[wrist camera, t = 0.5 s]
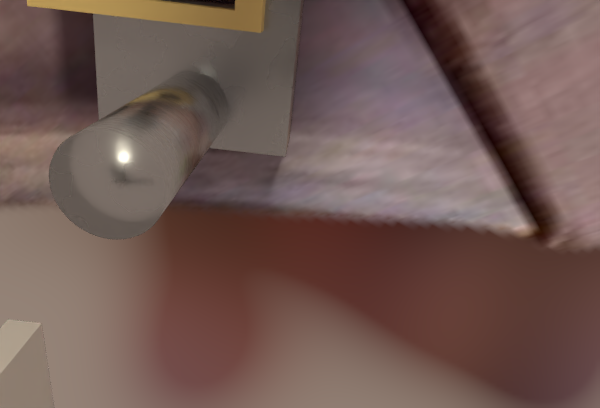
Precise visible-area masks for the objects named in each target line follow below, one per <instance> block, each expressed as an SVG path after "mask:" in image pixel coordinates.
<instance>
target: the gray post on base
mask: <svg viewBox="0 0 600 408" xmlns="http://www.w3.org/2000/svg"><path fill="white" fill-rule="evenodd" d="M162 1H171V2H179V3H188V4H196V5H205V6H214V7H222V8H231V9H235V5H231V4H222V3H214V2H205V1H197V0H162ZM303 3H304V0H266V4H265V18H264V31H262V32H261V33H257V32H249V31H240V30H231V29H223V28H214V27H206V26H197V25H188V24H180V23H171V22H163V21H154V20H145V19H137V18H128V17H119V16H111V15H102V14H94V13H93V24H94V42H95V60H96V78H97V96H98V114H99V120H98V121H97V122H95V123H93V124H91V125H90V126H88V127H86V128H85V129H83V130H81V131H80V132H78V133H76V134H75V135H73V136H71V137H69V138H68V139H67V140H65V141H64V142H63V143H62V144H61V145H60V146H59V147H58V149H57V150H56V152H55V153H54V155H53V157H52V160H51V163H50V168H49V182H50V188H51V191H52V194H53V197H54V199H55V201H56V203H57V205H58V206H59V208H60V209H61V211H62V212H63V213H64V214H65V215H66V216H67V218H68V219H69V220H70V221H72V222H73V223H74V224H75V225H77V226H78V227H80V228H81V229H83V230H85V231H86V232H88V233H90V234H93V235H95V236H99V237H103V238H107V239H127V238H132V237H135V236H138V235H140V234H142V233H144V232H146V231H147V230H149V229H150V228H151V227H152V226H153V225H154V224H155V223H156V222H157V220H158V219H159V218H160V216H161V215H162V214H163V212H164V211H165V209H166V208H167V207H168V205H169V204H170V202H171V201H172V199H173V198H174V197H175V195H176V194H177V192H178V191H179V190H180V188H181V187H182V185H183V184H184V183H185V181H186V180H187V178H188V177H189V176H190V174H191V173H192V171H193V170H194V169H195V167H196V166H197V164H198V163H199V162H200V160H201V159H202V157H203V156H204V155H205V153H206V152H207V150H208V149H209V148H214V149H222V150H231V151H240V152H248V153H257V154H266V155H274V156H283V157H286V152H287V148H288V143H289V139H290V131H291V121H292V111H293V101H294V92H295V82H296V72H297V62H298V52H299V42H300V32H301V23H302V13H303Z"/></svg>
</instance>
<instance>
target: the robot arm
mask: <svg viewBox="0 0 600 408" xmlns="http://www.w3.org/2000/svg"><path fill="white" fill-rule="evenodd" d="M0 408H54V402H53V397H52V389H51V382H50V376H49V368H48V362H47V356H46V348H45V341H44V335H43V328H42V323H36V322H27V321H18V320H9V319H8V320H7V321H6V322H5V323H4V324H3V325H2V327H1V328H0Z"/></svg>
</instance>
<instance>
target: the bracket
mask: <svg viewBox="0 0 600 408" xmlns="http://www.w3.org/2000/svg"><path fill="white" fill-rule="evenodd" d="M265 4H266V0H235V9H231V8H222V7H214V6H205V5H196V4H188V3H179V2H171V1H162V0H27V6H33V7H42V8H51V9H59V10H68V11H76V12H85V13H94V14H102V15H111V16H119V17H128V18H137V19H145V20H154V21H163V22H171V23H180V24H188V25H197V26H206V27H214V28H223V29H231V30H240V31H249V32H257V33H261V32H262V31H264V18H265Z"/></svg>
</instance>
